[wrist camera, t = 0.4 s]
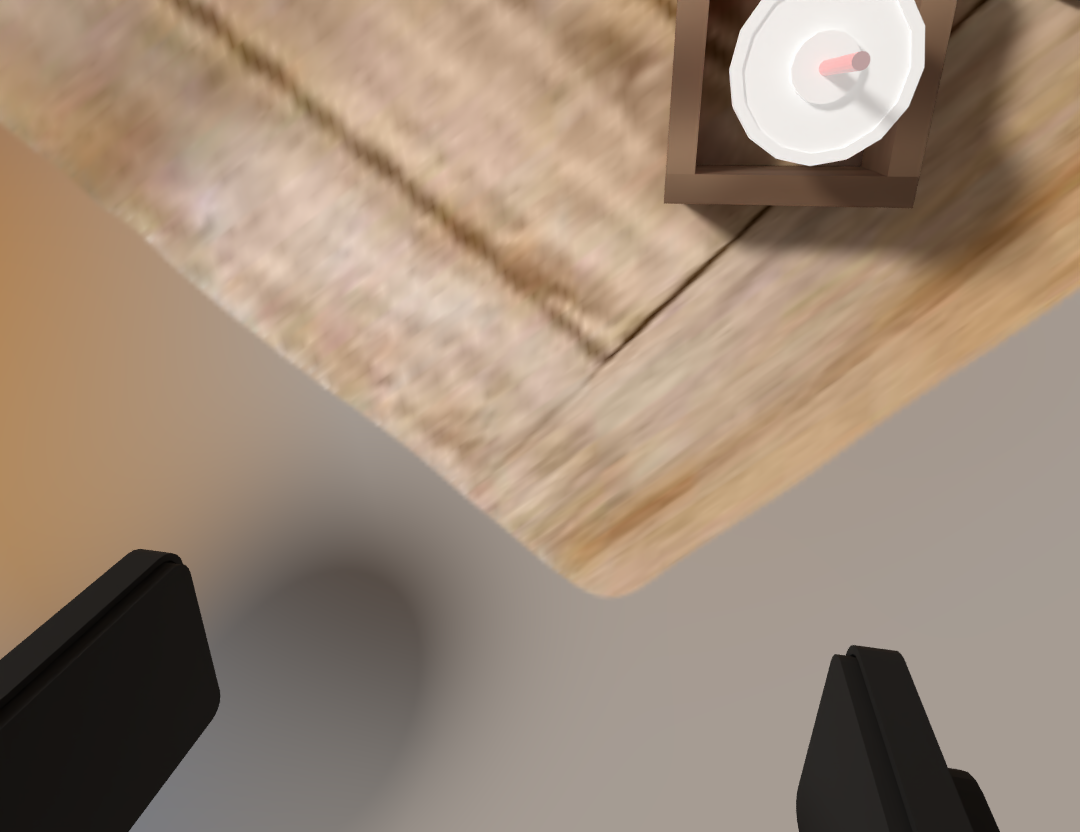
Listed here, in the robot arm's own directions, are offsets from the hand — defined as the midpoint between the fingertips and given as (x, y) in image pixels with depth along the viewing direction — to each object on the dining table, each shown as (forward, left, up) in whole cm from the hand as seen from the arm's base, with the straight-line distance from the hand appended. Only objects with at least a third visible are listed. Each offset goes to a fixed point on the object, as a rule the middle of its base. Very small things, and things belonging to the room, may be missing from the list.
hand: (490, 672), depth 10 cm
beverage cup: (-8, +7, -29) cm, 31 cm away
